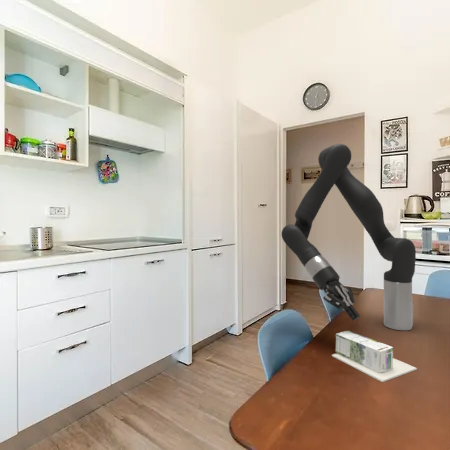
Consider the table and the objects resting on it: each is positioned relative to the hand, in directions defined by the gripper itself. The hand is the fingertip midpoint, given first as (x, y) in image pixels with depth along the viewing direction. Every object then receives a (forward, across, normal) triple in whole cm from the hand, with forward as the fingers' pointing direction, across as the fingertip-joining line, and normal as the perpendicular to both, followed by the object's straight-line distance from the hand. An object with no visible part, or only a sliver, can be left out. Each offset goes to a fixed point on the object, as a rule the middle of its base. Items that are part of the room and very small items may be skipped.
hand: (356, 318), depth 88 cm
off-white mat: (+11, -2, +3) cm, 12 cm away
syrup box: (+2, -3, +8) cm, 8 cm away
